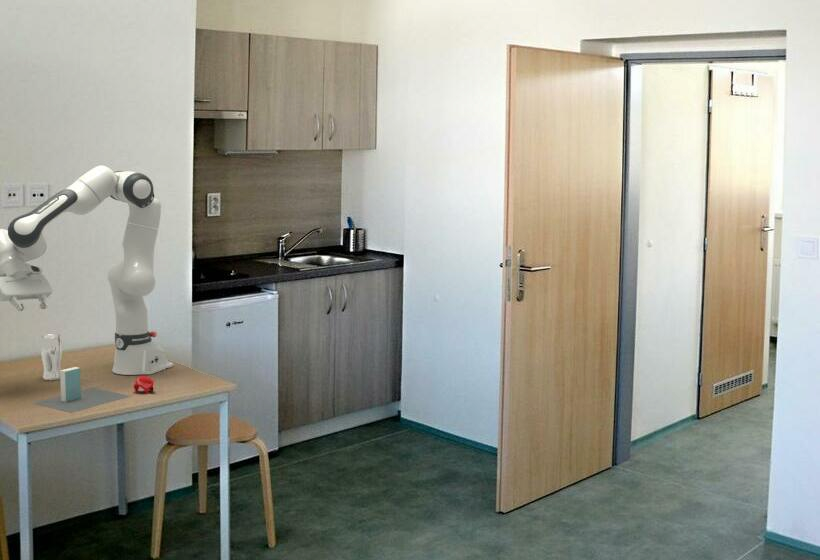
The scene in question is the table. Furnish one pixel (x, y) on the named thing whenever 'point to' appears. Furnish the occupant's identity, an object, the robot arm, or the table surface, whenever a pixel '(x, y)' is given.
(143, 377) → the red rounded piece
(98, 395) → the mat
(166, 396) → the table surface
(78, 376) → the tile
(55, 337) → the beer glass
